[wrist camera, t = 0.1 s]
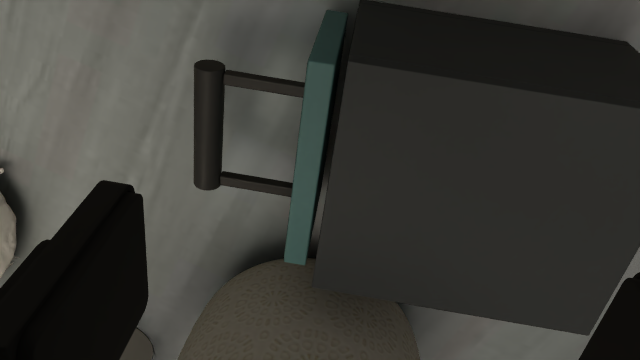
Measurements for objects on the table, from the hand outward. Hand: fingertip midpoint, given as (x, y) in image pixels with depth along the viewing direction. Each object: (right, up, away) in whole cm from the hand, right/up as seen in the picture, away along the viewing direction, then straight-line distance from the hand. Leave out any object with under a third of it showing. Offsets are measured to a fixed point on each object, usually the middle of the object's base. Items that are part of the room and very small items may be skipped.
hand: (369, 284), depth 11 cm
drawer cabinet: (+8, +5, +23) cm, 25 cm away
